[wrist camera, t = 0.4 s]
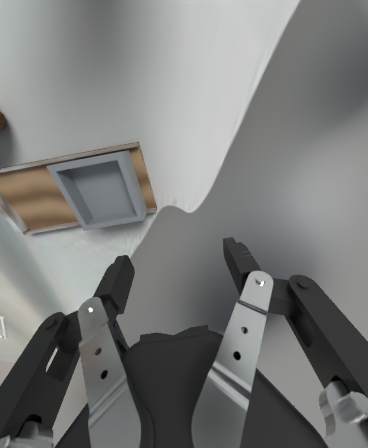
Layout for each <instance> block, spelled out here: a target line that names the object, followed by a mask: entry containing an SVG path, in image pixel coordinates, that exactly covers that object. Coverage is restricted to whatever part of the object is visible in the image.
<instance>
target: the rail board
mask: <svg viewBox="0 0 368 448" xmlns="http://www.w3.org/2000/svg"><path fill="white" fill-rule="evenodd" d="M127 150H129V153H130V157H131V160H132V163H133V166H134V169H135V173H136V176H137V179H138V182H139V185H140V188H141V192H142V195H143V198H144V201H145V204H146V208H147V213H153V212H156V211H157V206H156V203H155V199H154V196H153V192H152V188H151V185H150V181H149V178H148V174H147V170H146V167H145V163H144V159H143V156H142V152H141V149H140V145H139V142H135V143H130V144H125V145H120V146H114V147H109V148H104V149H99V150H93V151H88V152H83V153H78V154H73V155H67V156H62V157H57V158H52V159H47V160H41V161H36V162H31V163H26V164H20V165H15V166H10V167H5V168H0V213H1V214H2V215H3V216H4V217H5V218H6V220H7V221H8V222H9V223H10V224H11V225H12V227H13V228H14V229H15V230H16V231H17V233H18V234H19V233H23V234H24V235H27V234H33V233H38V232H44V231H50V230H56V229H61V228H67V227H73V226H79V225H80V223H79V222H78V220H77V218H76V216H75V215H74V213H73V211H72V210H71V208H70V206H69V204H68V203H67V201H66V199H65V198H64V196H63V194H62V192H61V191H60V189H59V187H58V186H57V184H56V182H55V181H54V179H53V177H52V175H51V174H50V172H49V170H48V169H47V167H46V166H49V165H54V164H59V163H64V162H69V161H74V160H79V159H85V158H90V157H95V156H100V155H106V154H111V153H116V152H122V151H127Z"/></svg>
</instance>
